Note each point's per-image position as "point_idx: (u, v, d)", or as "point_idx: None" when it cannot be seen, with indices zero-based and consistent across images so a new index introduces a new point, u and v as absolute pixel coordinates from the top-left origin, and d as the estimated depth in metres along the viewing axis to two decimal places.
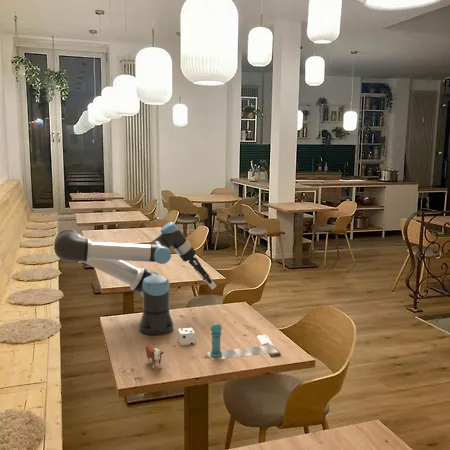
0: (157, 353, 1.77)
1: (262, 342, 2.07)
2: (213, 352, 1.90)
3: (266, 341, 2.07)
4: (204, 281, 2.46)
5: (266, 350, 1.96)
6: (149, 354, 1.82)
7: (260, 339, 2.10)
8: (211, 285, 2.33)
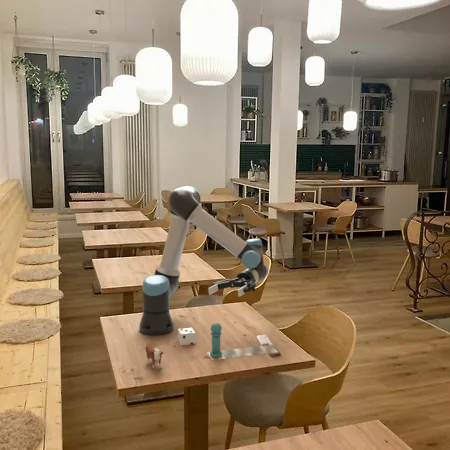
0: (157, 353, 1.77)
1: (262, 342, 2.07)
2: (213, 352, 1.90)
3: (266, 341, 2.07)
4: (210, 288, 2.01)
5: (266, 350, 1.96)
6: (149, 354, 1.82)
7: (260, 339, 2.10)
8: (241, 290, 1.96)
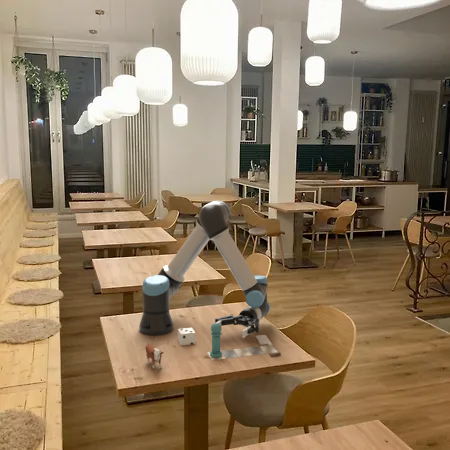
0: (157, 353, 1.77)
1: (261, 342, 2.07)
2: (213, 352, 1.90)
3: (265, 341, 2.07)
4: None
5: (266, 350, 1.96)
6: (149, 354, 1.82)
7: (259, 339, 2.10)
8: (246, 331, 1.97)
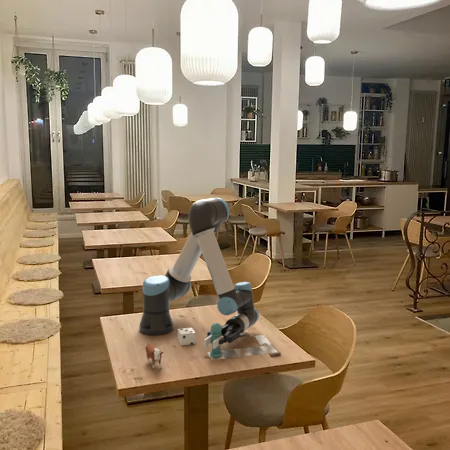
0: (157, 353, 1.77)
1: (260, 342, 2.07)
2: (213, 352, 1.90)
3: (264, 341, 2.07)
4: (206, 339, 1.86)
5: (266, 350, 1.96)
6: (149, 354, 1.82)
7: (258, 339, 2.10)
8: (216, 342, 1.86)
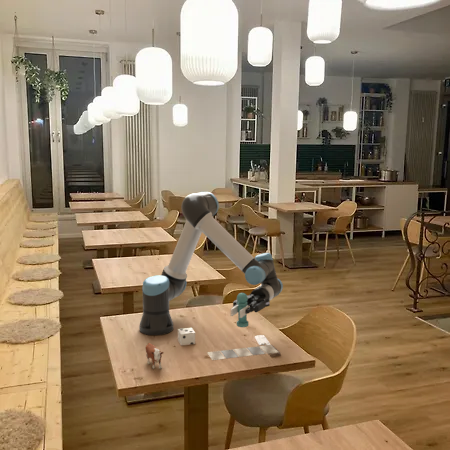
0: (157, 353, 1.77)
1: (260, 342, 2.06)
2: (240, 322, 1.90)
3: (264, 341, 2.07)
4: (232, 309, 1.86)
5: (266, 350, 1.96)
6: (149, 354, 1.82)
7: (258, 339, 2.10)
8: (243, 311, 1.86)
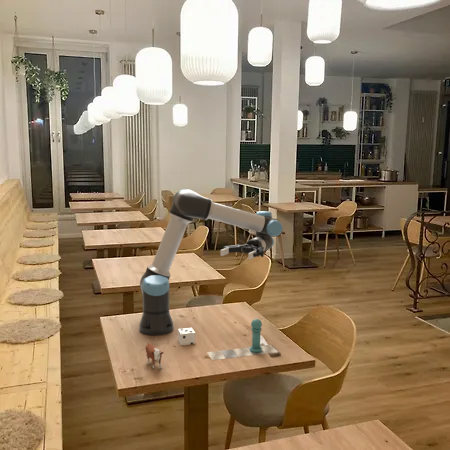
0: (157, 353, 1.77)
1: None
2: (253, 347, 1.95)
3: (261, 342, 2.07)
4: (222, 250, 2.18)
5: (266, 350, 1.96)
6: (149, 354, 1.82)
7: None
8: (251, 254, 2.13)
